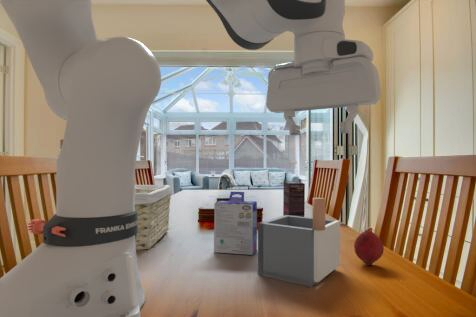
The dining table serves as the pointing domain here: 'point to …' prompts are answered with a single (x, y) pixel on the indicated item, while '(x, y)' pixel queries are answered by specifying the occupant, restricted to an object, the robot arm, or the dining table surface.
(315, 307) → the dining table surface
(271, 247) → the grey open box
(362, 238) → the onion
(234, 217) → the ink cartridge box
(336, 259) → the flap
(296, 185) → the supplement box
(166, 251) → the dining table surface
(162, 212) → the storage basket
